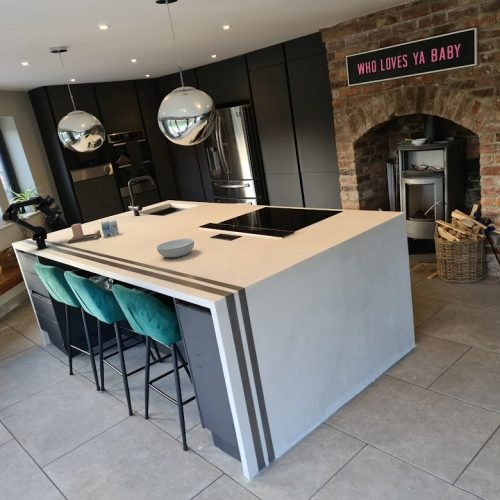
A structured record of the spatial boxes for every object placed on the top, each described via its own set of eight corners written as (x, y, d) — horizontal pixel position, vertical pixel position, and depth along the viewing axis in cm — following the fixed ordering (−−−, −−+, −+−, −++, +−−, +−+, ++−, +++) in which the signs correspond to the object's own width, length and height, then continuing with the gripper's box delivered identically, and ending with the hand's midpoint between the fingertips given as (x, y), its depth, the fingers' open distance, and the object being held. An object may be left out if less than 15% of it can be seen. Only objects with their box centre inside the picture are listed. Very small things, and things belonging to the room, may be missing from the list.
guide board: (97, 239, 335) (95, 233, 334) (67, 244, 335) (66, 237, 334) (101, 235, 346) (99, 229, 345) (72, 240, 345) (71, 234, 344)
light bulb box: (104, 238, 336) (100, 223, 333) (104, 236, 343) (100, 221, 340) (119, 235, 339) (116, 220, 336) (119, 233, 345) (116, 219, 342)
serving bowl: (197, 247, 274) (195, 236, 273) (194, 258, 254) (192, 245, 252) (161, 252, 275) (159, 241, 273) (155, 263, 254) (153, 251, 253)
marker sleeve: (81, 238, 337) (78, 225, 334) (74, 239, 337) (71, 226, 334) (83, 236, 343) (80, 223, 340) (77, 237, 343) (73, 224, 340)
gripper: (48, 203, 323) (68, 217, 326) (57, 199, 341) (76, 212, 344) (39, 216, 325) (59, 230, 328) (49, 211, 343) (67, 224, 346)
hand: (66, 223), depth 337 cm, fingers closed
